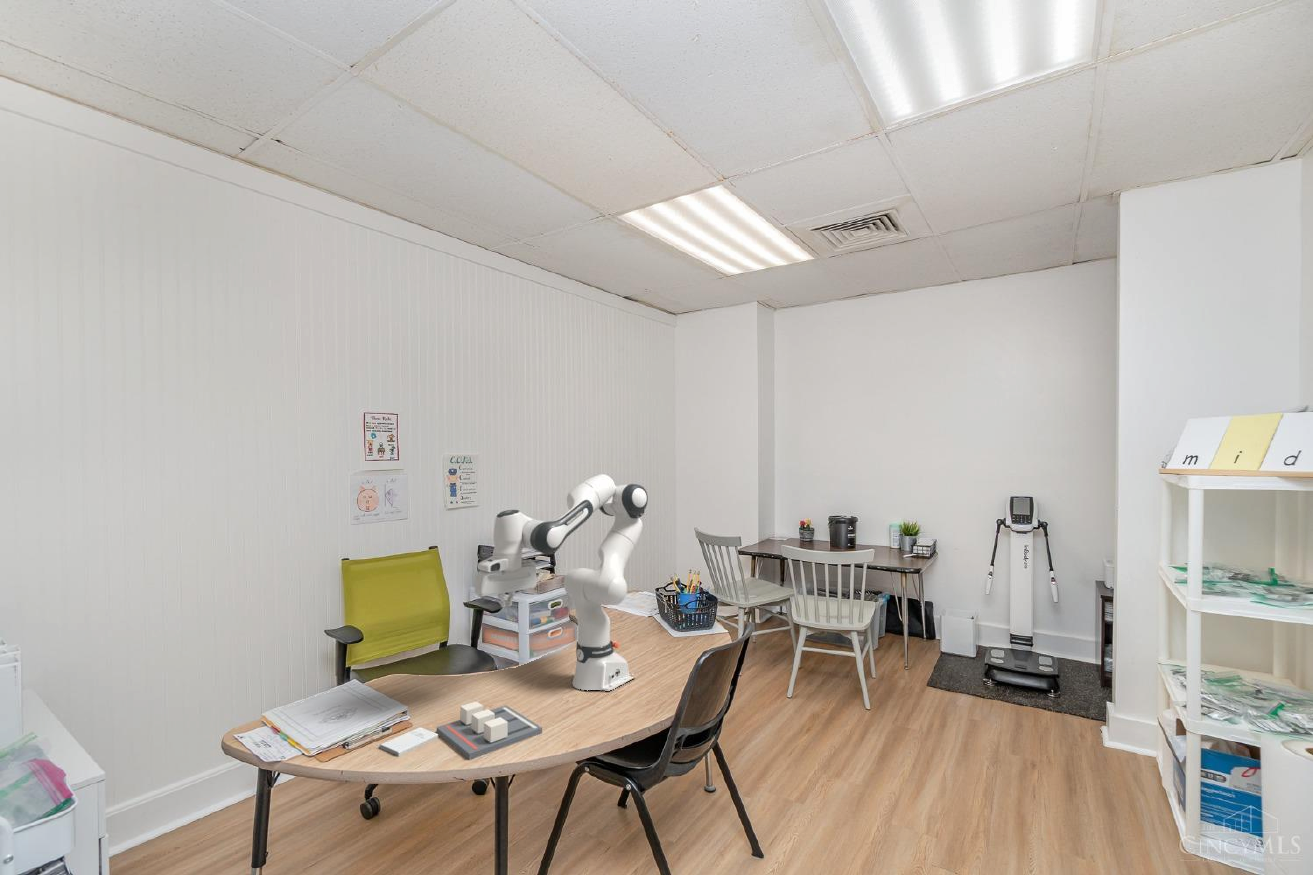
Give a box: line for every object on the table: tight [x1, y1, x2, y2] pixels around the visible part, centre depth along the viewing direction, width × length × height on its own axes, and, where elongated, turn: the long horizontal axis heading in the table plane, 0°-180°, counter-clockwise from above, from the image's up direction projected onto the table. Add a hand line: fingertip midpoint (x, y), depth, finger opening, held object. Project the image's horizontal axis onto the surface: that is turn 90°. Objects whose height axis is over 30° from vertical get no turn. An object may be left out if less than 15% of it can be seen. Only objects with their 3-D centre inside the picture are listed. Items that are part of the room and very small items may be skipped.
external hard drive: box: [379, 726, 439, 757], centre depth 163 cm, size 2×8×12 cm
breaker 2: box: [483, 717, 508, 743], centre depth 163 cm, size 5×4×4 cm
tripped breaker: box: [471, 708, 495, 733], centre depth 168 cm, size 5×4×4 cm
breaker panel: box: [436, 704, 543, 761], centre depth 169 cm, size 22×20×2 cm
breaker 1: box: [459, 701, 484, 725], centre depth 173 cm, size 5×4×4 cm
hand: (506, 606), depth 188 cm, fingers closed
